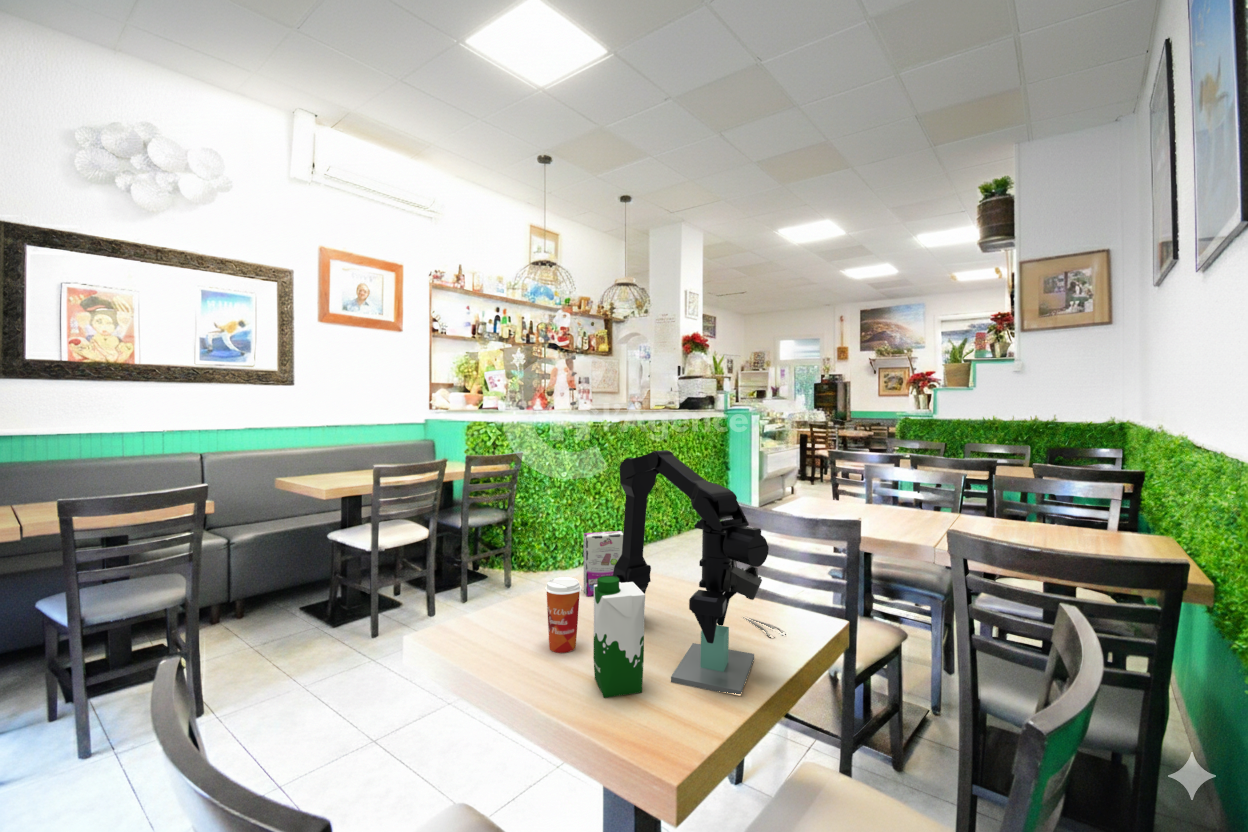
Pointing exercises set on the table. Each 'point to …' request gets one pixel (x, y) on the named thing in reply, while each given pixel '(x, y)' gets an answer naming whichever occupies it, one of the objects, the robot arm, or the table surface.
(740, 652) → the board
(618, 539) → the candy bar box
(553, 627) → the paper cup
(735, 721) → the table surface
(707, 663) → the block
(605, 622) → the milk carton
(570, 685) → the table surface
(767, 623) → the tweezers
